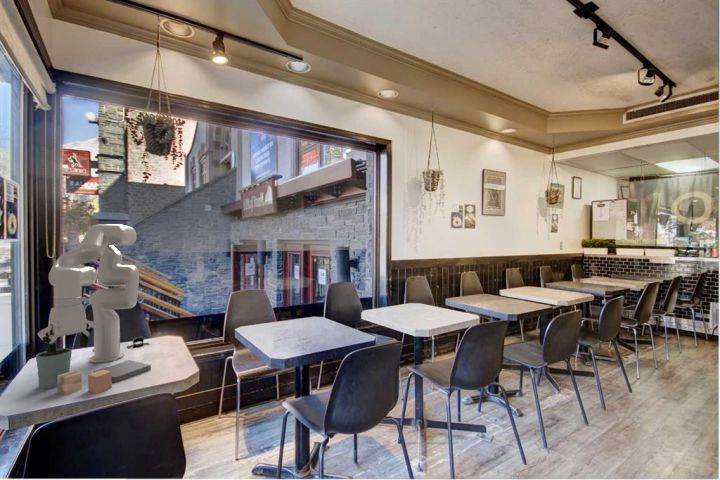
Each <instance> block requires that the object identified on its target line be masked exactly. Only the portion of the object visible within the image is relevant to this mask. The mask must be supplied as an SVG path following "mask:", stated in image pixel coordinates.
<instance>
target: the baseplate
mask: <svg viewBox="0 0 720 480" xmlns="http://www.w3.org/2000/svg"><path fill="white" fill-rule="evenodd" d="M100 370H106V371H110V372H111V378H112V383H118V382H121V381H123V380H126V379H129V378H132V377H134V376H137V375H140V374H143V373H145V372H148V371H150V370H152V364H149V363H144V362H139V361H137V360H136V361H135V360H131V359H130V360H129V359H128V360H125V361H121V362H119V363H115V364H113V365H110V366H106V367H103V368H100V369H97V370H94V371H93V373H94V372H97V371H100Z"/></svg>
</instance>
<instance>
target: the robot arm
mask: <svg viewBox="0 0 720 480" xmlns="http://www.w3.org/2000/svg"><path fill="white" fill-rule="evenodd" d="M137 237H138V235H137V232H136V230H135V228H133V227H132V226H129V225H124V224H117V223H116V224H113V223H111V224H110V223H107V224H105V223H102V224H100V223H98V224H93V225H92V226H90V227H89V228H88V229H87V231H86V233H85V235H84V237H83V239H82V241H81V243H79V246H77V247H75V248H73V249H70V250H69V251H67V252H65V253H63V254H61V255H60V256H59V257H58V258H57V259H56V260H55V262H54V263H53V265H52V267H51V269H50V271H49V273H48V282H49V284H50V285H51V286H53V288H54V289H53V290H54V295H53V296H54V300H53V301H54V303H53V304H54V307H51V308H50V313H49V317H48V326H47V327H45V328H43V329H41V330H40V331H39V332H37V335H38V337H39V338H40V340H42V341H43V342H44V343H45V344H47V346H46V347H47V348H46V349H47V350H46V351H47V352H48V353H49V354H50V355H55V354H56V349H57V343H56V341H57V339H58V338H60V337H65V336H70V335H75V334H80V337H79V338H80V339H79V346H80V348H81V347H82V348H87V347H88V344H89V336H90V334H91V333H92V332H93V346H94V348H93V349H92V350H91V351H92V353H93V355H92V356H91V357H90V358H89V362H90V363H95V364H100V363H103V364H104V363H107V362H113V361H117V360H120V359H122V358H123V357H124V356H125V352H124V351H122V350H121V331H120V330H121V326H120V323H121V321H120V316H119V314H118V313H117V312H116V311H115V310H126V309H127V310H128V309H132V308H134V307H135V306H136V305H137V303H138V295H139V294H138V293H139V286H140V284H139V283H140V273H139V269H138V267H137V266H135V265H133V264H123V254H122V253H121V252H120V250H119V249H118V248H117V247H116V246H132V245H133V244H135V243H136V241H137ZM98 259H99V266H98V270H97V269H96V268H95V267H94V266H88V265H87V266H83V264H86V263H90V262H93V261H96V260H98ZM78 265H79V266H78ZM96 281H98V285H100V286H105V287H108V288H101V289H98V290H94V292H93V293H92V294H91V296H90V303H91V308H92V314H93V321H92V320H88V319H87V315H86V309H85V306H84V304H83V302H85V301H86V297H84V296H82V287H87V286H91V285H93V284H94V283H95V282H96ZM119 286H125V287H119ZM109 287H111V288H109ZM112 287H113V288H112ZM117 287H118V288H117ZM87 324H88V325H89V326H88V327H87ZM46 334H48V336H47V335H46Z"/></svg>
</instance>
